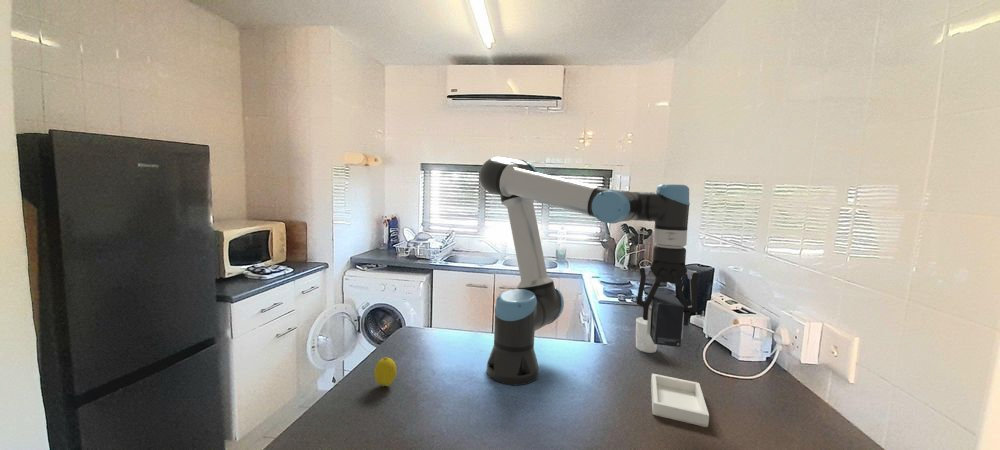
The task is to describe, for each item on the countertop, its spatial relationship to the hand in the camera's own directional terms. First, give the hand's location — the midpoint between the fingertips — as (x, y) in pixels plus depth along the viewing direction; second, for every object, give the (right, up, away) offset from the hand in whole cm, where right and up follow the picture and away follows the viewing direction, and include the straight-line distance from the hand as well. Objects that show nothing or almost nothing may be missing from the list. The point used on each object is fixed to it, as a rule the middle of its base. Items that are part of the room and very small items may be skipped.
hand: (664, 334), depth 95 cm
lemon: (-73, -15, +3) cm, 74 cm away
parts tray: (+4, -18, +1) cm, 18 cm away
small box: (0, -1, 0) cm, 1 cm away
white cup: (+9, -15, +34) cm, 38 cm away
